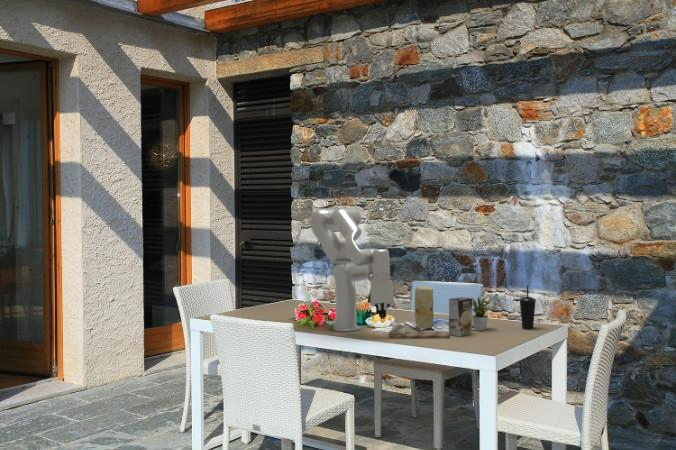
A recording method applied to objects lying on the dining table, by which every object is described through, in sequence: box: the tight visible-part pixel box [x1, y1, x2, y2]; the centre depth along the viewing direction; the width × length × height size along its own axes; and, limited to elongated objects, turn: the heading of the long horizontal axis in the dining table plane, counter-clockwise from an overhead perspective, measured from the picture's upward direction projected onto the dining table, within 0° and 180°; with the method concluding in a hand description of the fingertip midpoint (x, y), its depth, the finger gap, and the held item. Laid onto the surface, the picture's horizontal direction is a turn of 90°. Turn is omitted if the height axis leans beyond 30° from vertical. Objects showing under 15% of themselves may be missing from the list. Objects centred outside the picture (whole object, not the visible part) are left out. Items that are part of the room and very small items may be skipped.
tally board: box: [388, 330, 451, 340], centre depth 324 cm, size 26×10×1 cm, turn 89°
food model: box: [414, 285, 434, 329], centre depth 342 cm, size 10×7×20 cm
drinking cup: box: [518, 285, 537, 330], centre depth 340 cm, size 8×8×20 cm
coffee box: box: [448, 297, 473, 337], centre depth 328 cm, size 9×6×16 cm
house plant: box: [470, 293, 494, 332], centre depth 338 cm, size 14×14×16 cm
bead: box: [391, 322, 406, 334], centre depth 324 cm, size 5×6×4 cm
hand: (382, 318), depth 324 cm, fingers closed
